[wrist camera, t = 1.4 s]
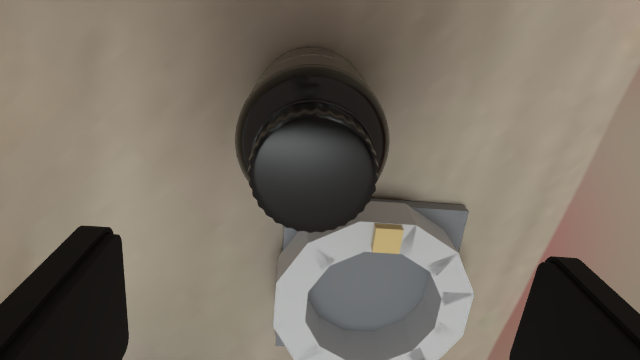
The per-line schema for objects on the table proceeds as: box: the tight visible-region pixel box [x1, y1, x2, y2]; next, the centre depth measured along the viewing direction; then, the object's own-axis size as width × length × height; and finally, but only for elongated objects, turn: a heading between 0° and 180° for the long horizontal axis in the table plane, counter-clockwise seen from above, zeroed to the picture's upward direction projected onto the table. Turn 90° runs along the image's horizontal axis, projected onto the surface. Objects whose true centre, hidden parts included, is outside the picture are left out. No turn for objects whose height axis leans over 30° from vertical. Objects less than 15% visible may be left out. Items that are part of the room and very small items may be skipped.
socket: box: [273, 198, 474, 360], centre depth 30 cm, size 12×12×5 cm
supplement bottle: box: [235, 47, 389, 233], centre depth 21 cm, size 7×7×12 cm
